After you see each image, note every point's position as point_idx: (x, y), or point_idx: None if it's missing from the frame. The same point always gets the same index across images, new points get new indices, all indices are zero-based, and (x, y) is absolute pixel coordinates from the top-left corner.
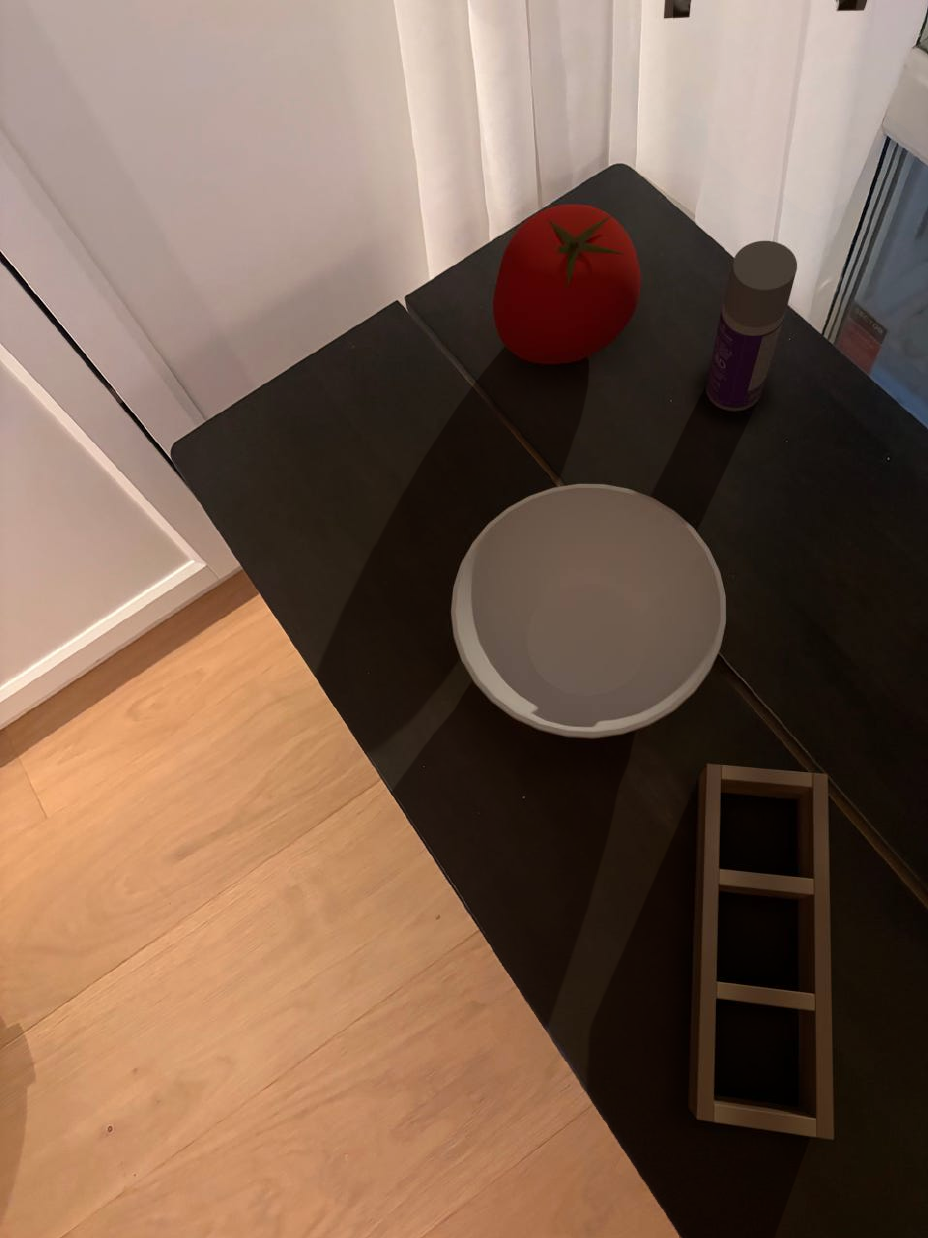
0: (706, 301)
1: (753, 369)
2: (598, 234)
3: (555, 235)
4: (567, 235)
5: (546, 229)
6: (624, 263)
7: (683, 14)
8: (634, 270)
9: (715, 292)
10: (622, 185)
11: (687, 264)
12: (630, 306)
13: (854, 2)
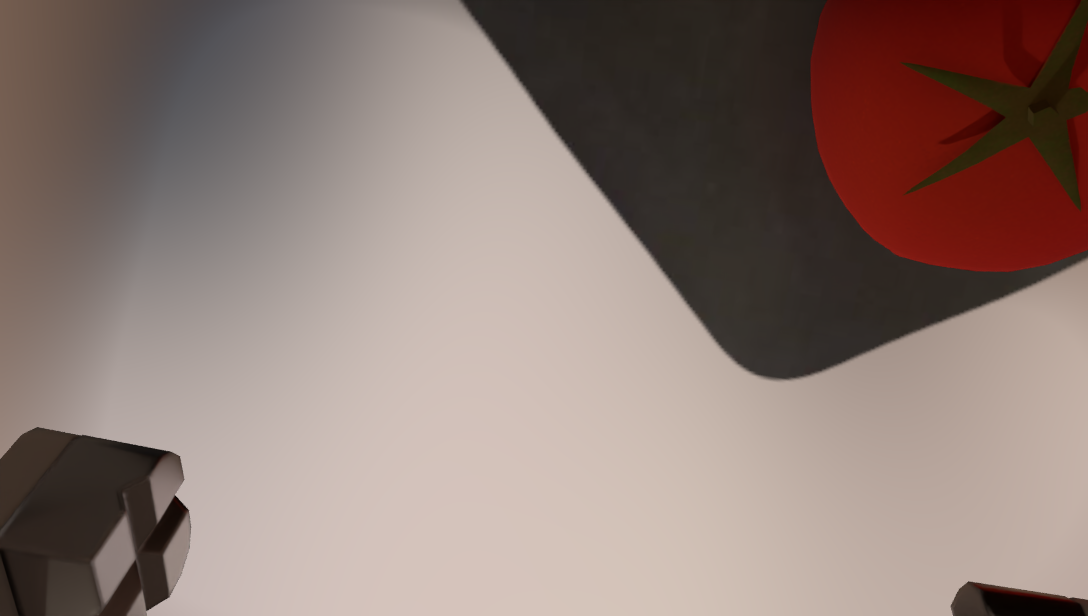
0: (629, 50)
1: None
2: (949, 146)
3: (1081, 153)
4: (1048, 147)
5: None
6: (887, 55)
7: (1018, 599)
8: (849, 49)
9: (606, 72)
10: (766, 362)
11: (658, 154)
12: None
13: (65, 463)
